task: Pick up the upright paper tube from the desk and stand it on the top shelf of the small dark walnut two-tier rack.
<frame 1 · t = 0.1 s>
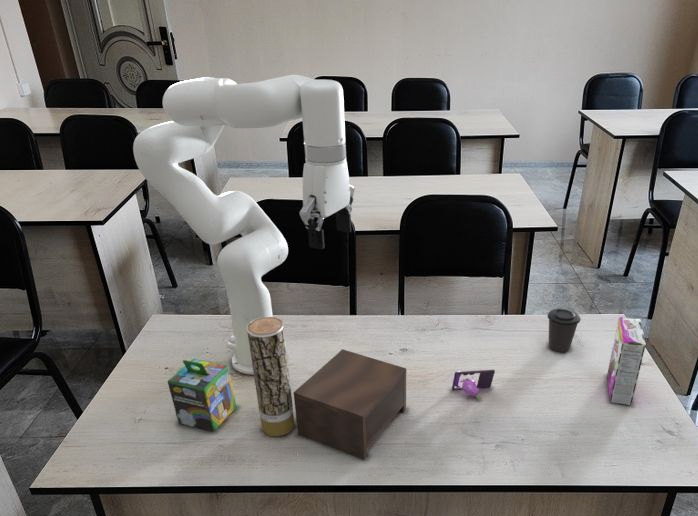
hand: (330, 239, 120), 37 cm above the table, tool pointing down, fingers open, 9 cm apart
chalk box: (207, 416, 131), on the table
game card: (473, 395, 138), on the table
candy bar box: (617, 391, 139), on the table
paper tube: (278, 428, 128), on the table
rack: (353, 421, 129), on the table
coffee cup: (558, 347, 155), on the table
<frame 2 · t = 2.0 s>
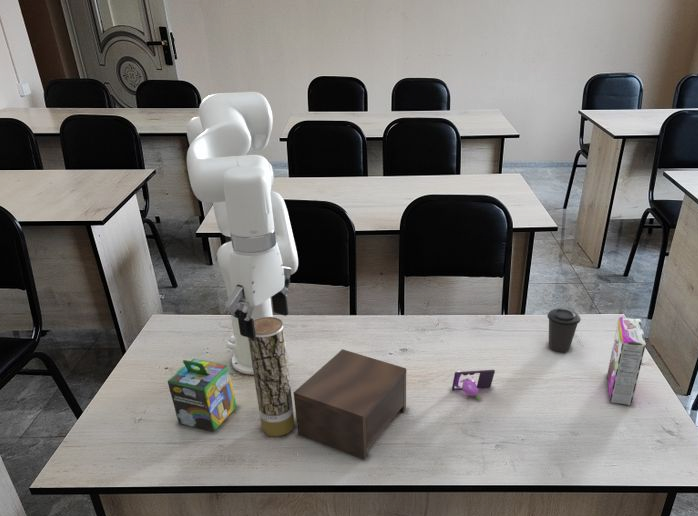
hand: (265, 324, 114), 25 cm above the table, tool pointing down, fingers open, 9 cm apart
nothing on the table moved.
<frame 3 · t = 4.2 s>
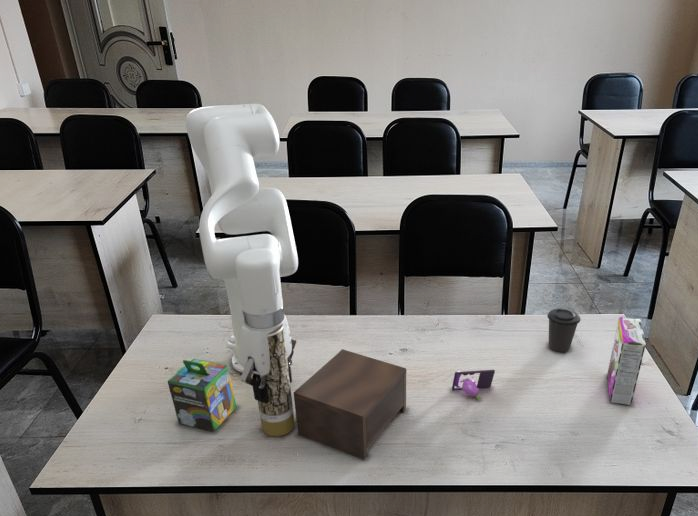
hand: (273, 390, 122), 10 cm above the table, tool pointing down, fingers closed on paper tube, 6 cm apart
paper tube: (278, 428, 128), on the table, touching gripper
everything else where it was.
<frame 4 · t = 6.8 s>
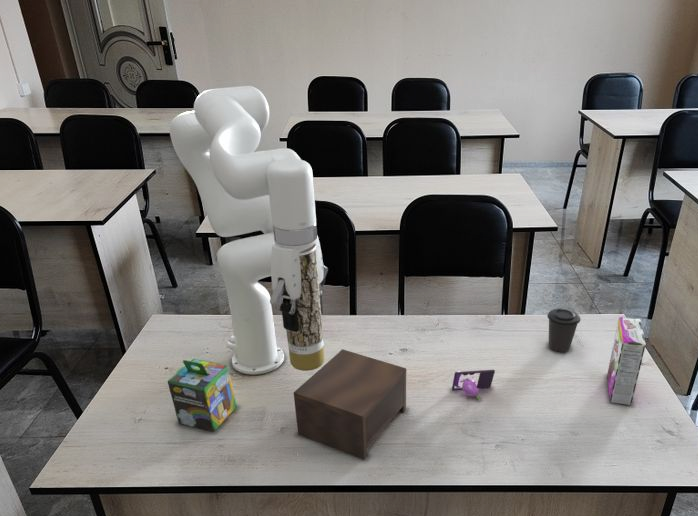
hand: (303, 320, 115), 26 cm above the table, tool pointing down, fingers closed on paper tube, 6 cm apart
paper tube: (307, 363, 120), point 16 cm above the table, touching gripper
everything else where it was.
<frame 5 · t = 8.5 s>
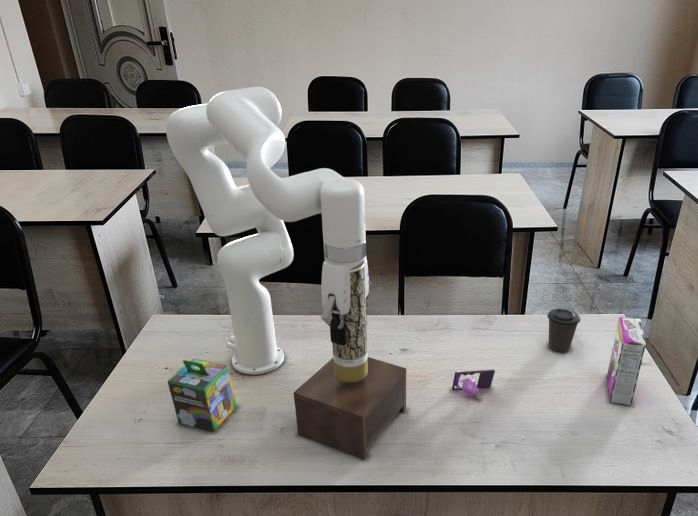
hand: (349, 333, 118), 22 cm above the table, tool pointing down, fingers closed on paper tube, 6 cm apart
paper tube: (351, 375, 123), point 12 cm above the table, touching gripper
everything else where it was.
when the fingers open (21 cm above the table, at t = 9.5 s): paper tube stays where it is, resting on rack.
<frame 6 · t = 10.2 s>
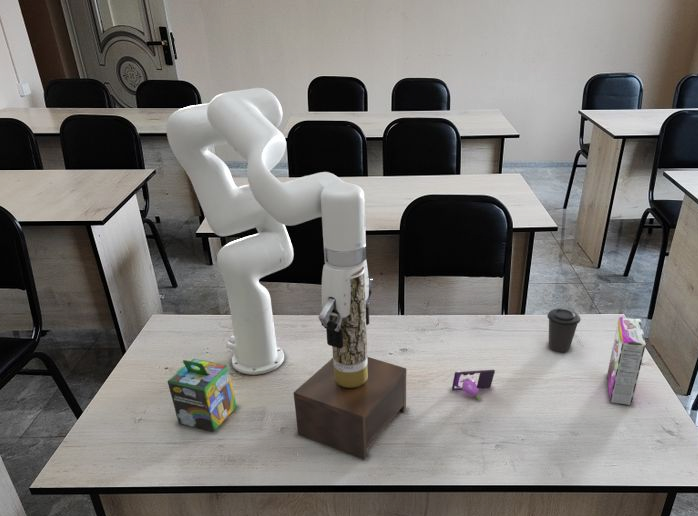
hand: (349, 334, 118), 22 cm above the table, tool pointing down, fingers open, 9 cm apart
paper tube: (351, 380, 124), point 11 cm above the table, touching rack
everything else where it was.
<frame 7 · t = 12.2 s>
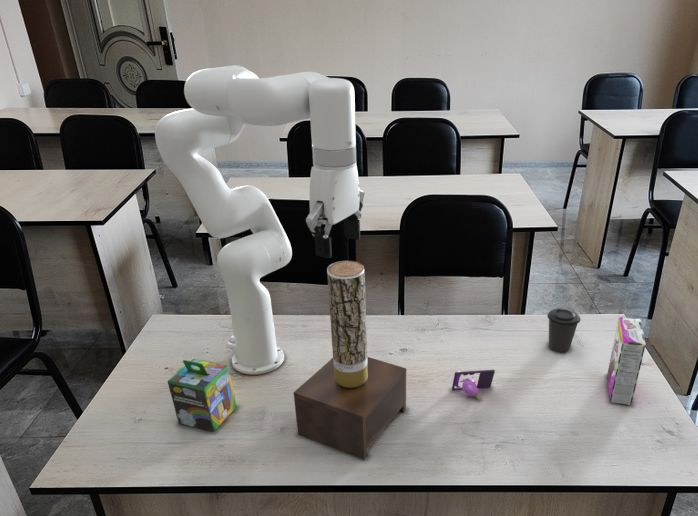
hand: (338, 247, 114), 38 cm above the table, tool pointing down, fingers open, 9 cm apart
nothing on the table moved.
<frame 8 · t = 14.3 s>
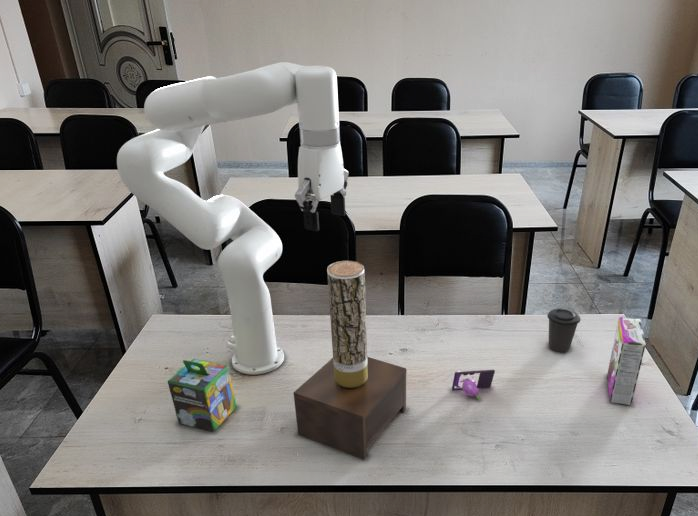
hand: (325, 222, 124), 38 cm above the table, tool pointing down, fingers open, 9 cm apart
nothing on the table moved.
at the end: paper tube inside the target area on the rack (0.1 cm from its centre), point 10.8 cm above the rack's base; paper tube tilted 0°; the gripper is holding nothing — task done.
